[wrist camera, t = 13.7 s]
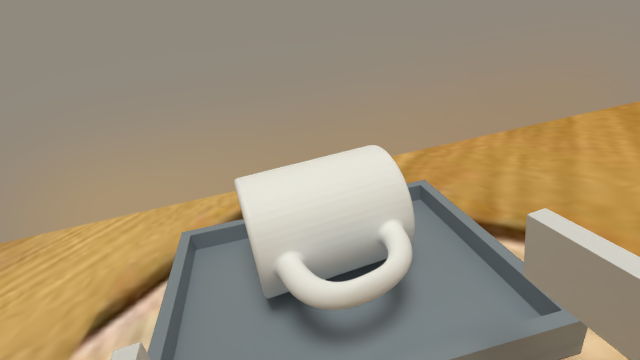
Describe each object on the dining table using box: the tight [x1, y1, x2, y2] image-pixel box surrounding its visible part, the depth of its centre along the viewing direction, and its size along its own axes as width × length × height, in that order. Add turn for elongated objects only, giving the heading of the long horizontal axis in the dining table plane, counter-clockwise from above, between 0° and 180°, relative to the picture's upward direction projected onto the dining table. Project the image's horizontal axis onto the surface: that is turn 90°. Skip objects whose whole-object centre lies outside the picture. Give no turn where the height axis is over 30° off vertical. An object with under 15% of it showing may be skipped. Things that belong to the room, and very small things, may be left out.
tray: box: [148, 180, 588, 360], centre depth 24 cm, size 22×17×2 cm
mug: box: [234, 145, 415, 310], centre depth 22 cm, size 12×10×8 cm
